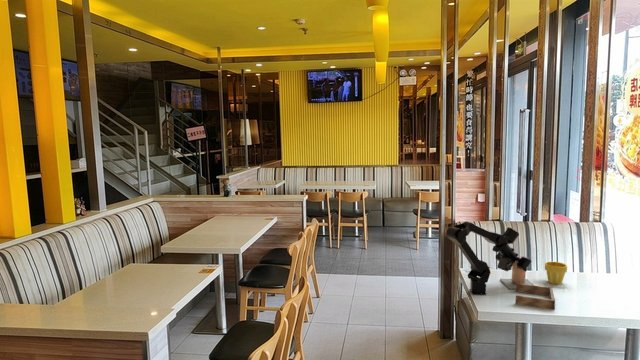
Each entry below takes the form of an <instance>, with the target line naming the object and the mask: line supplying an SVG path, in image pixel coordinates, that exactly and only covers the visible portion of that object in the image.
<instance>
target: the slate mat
mask: <svg viewBox="0 0 640 360" xmlns="http://www.w3.org/2000/svg"><path fill="white" fill-rule="evenodd" d="M499 280H500V282H501V283H502V284H503V285H504V286H505V287H506V288H507V289H508V290H510V291H512V290H514V291H516V283H514V282H512V281H511V280H512V278H500V279H499ZM524 284H529V285H535V284H534V283H533V282H531V280H529V279H528V278H525V283H524Z"/></svg>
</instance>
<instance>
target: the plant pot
mask: <svg viewBox="0 0 640 360" xmlns="http://www.w3.org/2000/svg"><path fill="white" fill-rule="evenodd" d="M544 269H545V272H546V277H547V281H548V282H549V284H550V283H551V284H555V285H561V284H562V283H563V281H564V279H565V278H564V277H565V275H566V273H567V272H568V265H567V264H566V263H564V262H559V261H545V263H544Z"/></svg>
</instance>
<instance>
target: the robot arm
mask: <svg viewBox="0 0 640 360" xmlns="http://www.w3.org/2000/svg"><path fill="white" fill-rule="evenodd" d="M470 233H473V234H476V235H477V236H480V237H481V238H483V239H484V240H485V241H486V242H488V243H490V244H493V246H492V247H493V248H492V252H494V253H495V252H496V255H495V260H496V261H498V263H497V268H498V269H500V270H502V271H505V272H509V271H512V265H513V263H515V261H516V262H518V263H517V266H518V267H517V268H520V269H523V270H524V271H525V272H527V270H528V267H529V266H530V265H531V263H532V259H531V258H529V257H528V256H521V257H518V256H519V254H518V253H517V252H515V249H514V248H513V247H510V244H512V245H513V244H514V243H515V241H516V240H517V238H518V237H519V236H520V234H519V232H518V231H517V230H515V229H513V228H512V227H507V228H506V230H505V231H504V232H503V234H502V233H498V232H495V231H491V230H490V231H489V230H487V229H485V228H484V227H482V226H479V225H477V224H475V223H474V222H470V221H463V222H462V223H458V224H455V225H453V226H449V227H448V228H447V229H446V232H445V235H446V237H447V238H448V239H449V240H450V241H451V242H453V244H455V245H457V247H458V248H459V250H460V252H461V253H462V254H463V256H464V257H465V259H466V260H467V261H468V262H469V264H470V271H469V272H468V273H467V278H468V279H469V280H470V285H469V286H470V288H469V291H470V294H471V295H480V296H481V295H486V296H487V283H488V281H489V280H490V275H491V270H490V269H491V266H489V265H488V263H487V262H486V261H483V260H481V259H479V258H478V256H477V255H476V253H475V252H474V250H473V249H472V247H471V246H470V245H469V243H468V241H467V236H469V234H470Z"/></svg>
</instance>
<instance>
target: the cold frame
mask: <svg viewBox="0 0 640 360" xmlns="http://www.w3.org/2000/svg"><path fill="white" fill-rule="evenodd" d="M515 292H517V293H524V294H525V293H526V294H531V295H532V294H534V295H538V296H539V295H541V296H548V297H549V298H543V297H542V298H541V297H533V296H527V295H520V294H515V302H514V303H515V305H517V306H518V305H519V306H526V307H534V308H540V309H541V308H542V309H548V310H556V309H555V308H556V307H555V306H556V301H555V294H554V289H553V286H543V285H536V284H534V285H529V284H520V283H516V290H515Z"/></svg>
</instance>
